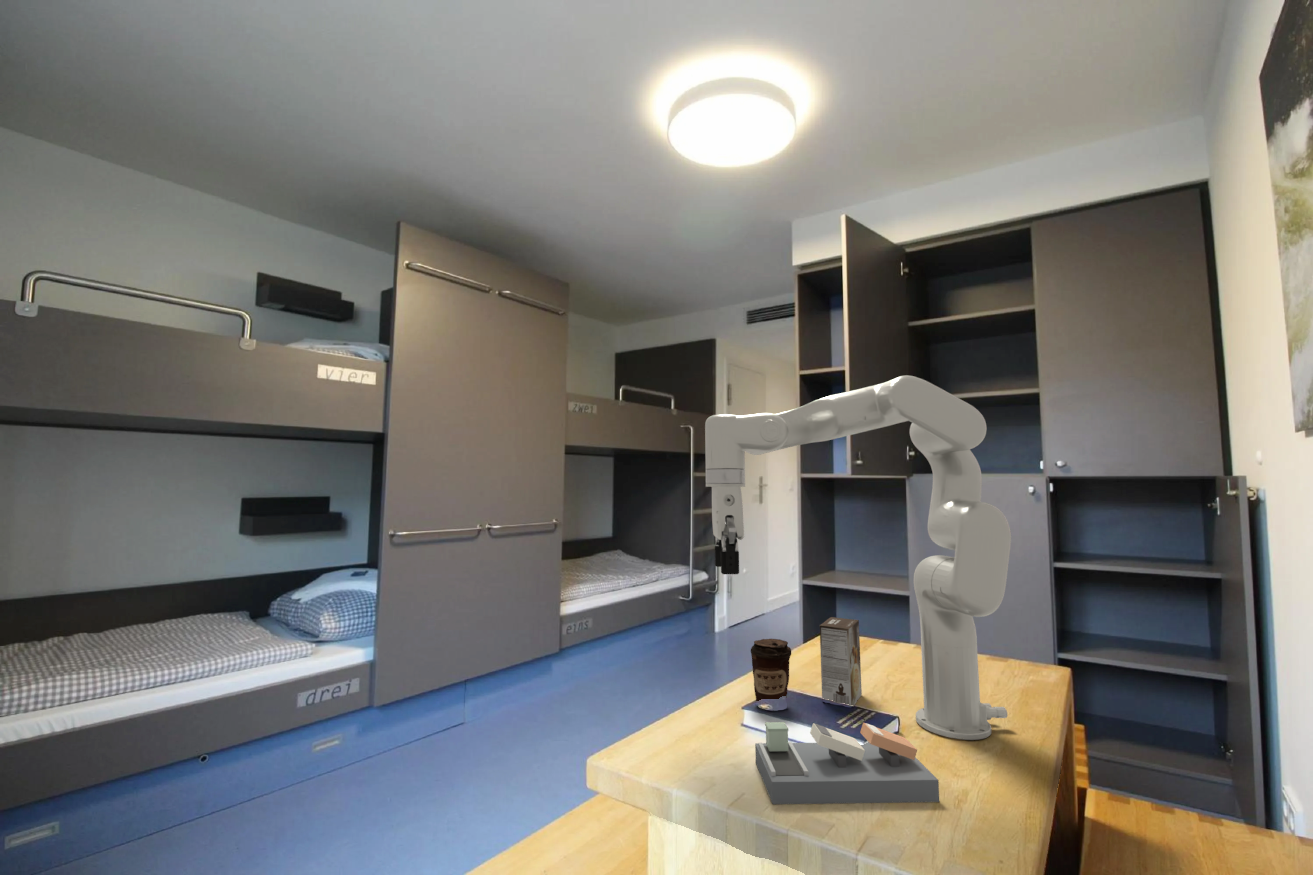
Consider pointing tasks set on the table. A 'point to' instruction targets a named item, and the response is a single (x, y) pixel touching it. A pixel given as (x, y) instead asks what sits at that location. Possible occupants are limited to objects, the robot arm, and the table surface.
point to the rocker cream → (837, 741)
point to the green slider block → (776, 736)
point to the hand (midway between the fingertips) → (726, 570)
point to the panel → (843, 776)
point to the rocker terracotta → (888, 741)
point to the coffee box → (840, 660)
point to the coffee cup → (770, 668)
